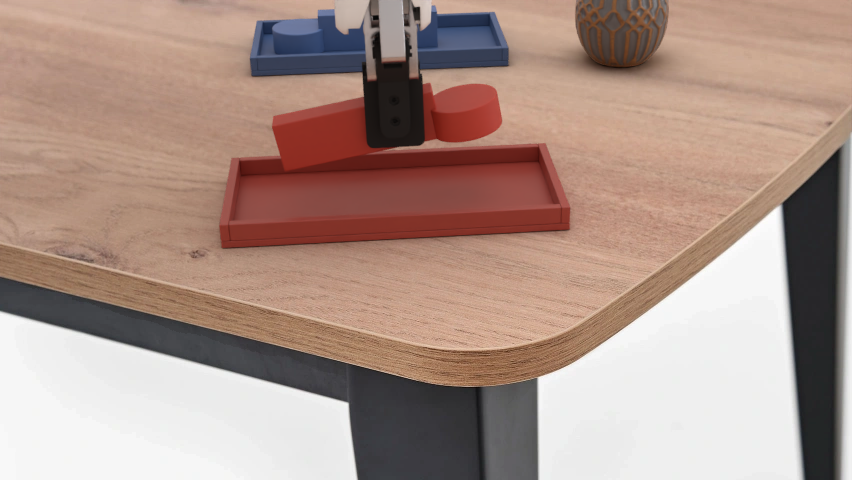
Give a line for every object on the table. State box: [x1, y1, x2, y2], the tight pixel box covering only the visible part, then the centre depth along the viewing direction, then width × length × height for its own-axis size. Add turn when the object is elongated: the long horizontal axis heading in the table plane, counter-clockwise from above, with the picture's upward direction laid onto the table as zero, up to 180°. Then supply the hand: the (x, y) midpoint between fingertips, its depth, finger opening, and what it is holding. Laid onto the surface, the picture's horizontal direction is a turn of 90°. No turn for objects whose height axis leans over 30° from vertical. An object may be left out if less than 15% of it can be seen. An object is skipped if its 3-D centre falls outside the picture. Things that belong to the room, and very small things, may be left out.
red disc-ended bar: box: [271, 82, 503, 171], centre depth 67 cm, size 12×4×3 cm, turn 96°
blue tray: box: [249, 11, 510, 77], centre depth 93 cm, size 19×9×1 cm, turn 96°
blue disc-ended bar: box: [272, 4, 438, 55], centre depth 93 cm, size 12×4×3 cm, turn 96°
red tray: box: [218, 142, 571, 249], centre depth 70 cm, size 19×9×1 cm, turn 96°
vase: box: [574, 0, 670, 68], centre depth 90 cm, size 7×7×9 cm
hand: (394, 135), depth 68 cm, fingers closed on red disc-ended bar, 1 cm apart
